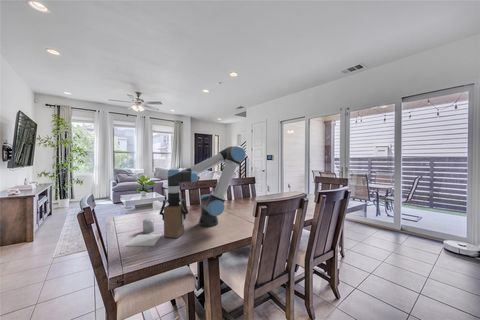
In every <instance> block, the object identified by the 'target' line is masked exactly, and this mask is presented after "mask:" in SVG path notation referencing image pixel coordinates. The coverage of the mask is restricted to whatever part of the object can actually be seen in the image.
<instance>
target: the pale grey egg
mask: <svg viewBox="0 0 480 320" xmlns="http://www.w3.org/2000/svg"><path fill="white" fill-rule="evenodd" d="M154 223H155V220H154V219H153V218H145V219H143V220H142V233H143V234H150V233H151V234H152V233H153V232H154V231H155V226H154V225H155V224H154Z"/></svg>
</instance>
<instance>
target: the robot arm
mask: <svg viewBox="0 0 480 320" xmlns="http://www.w3.org/2000/svg"><path fill="white" fill-rule="evenodd" d="M245 158H246V151H245V149H244V148H243V147H242V146H240V145H234V146H233V145H231V146H227V147H226V148H224V149H222V150H220V151H218V152H217V154H214V155H213V156H211V157H209V158H207V159H205V160H203V161H200V162H199V163H197V164H196V163H195V164H194V165H192V166H189V167H188V168H186V169H183V170H180V168H169V169H168V170H167V199H163V200H162V205H161V208H160V210H159V213H158V215H161V216H162V221H164V207H166V204H167V206H180V204H183V207H184V210H183V209H182V208H181V212H182V213H183V215H182V225H184V226H185V220H186V218H187V217H186V215H188V213H189V210H188V207H187V205H186V202H185V199H184V198H182V199H181V193H180V191H181V190H180V187H181V186H180V184H183V183H184V184H185V183H195V182H196V183H197V182H198V178H199V177H198V175H200V174H202V173H204V172H206V171H208V170H210V169H212V168H214V167H216V166H218V165H220V164H224V167H223V169H222V172H221V174H220V176H219V178H218V181H217V183H216V187H215V188H214V191H213V193H212V192H211V193H210V194H209V193H208V194H207V193H206V194H202V195H201V196H200V217H199V220H198V225H199V226H201V227H206V228H207V227H214V226H217V225H218V224H219V219H218V216H220V215H222V214H223V213H224V211H225V201H226V198H225V196H226V193H227V191H228V188H229V186H230V184H231V181H232V179H233V177H234V174H235V171H236V169H237V168H238V167H239V166H240V164H241V162H242V161H243V160H245Z"/></svg>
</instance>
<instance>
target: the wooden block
mask: <svg viewBox="0 0 480 320" xmlns="http://www.w3.org/2000/svg"><path fill="white" fill-rule="evenodd" d="M179 204H180V206H168V205H165V207H164V210H163V213H164V220H163V236H164V237H165V238H172V239H178V238H179V237H181V236H182V235H183V234H184V233H185V224H184V225H182V215H183V213H182V212H181V208H182V209H183V210H184V207H183V204H182V203H179ZM184 211H185V210H184Z"/></svg>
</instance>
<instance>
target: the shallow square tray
mask: <svg viewBox="0 0 480 320" xmlns="http://www.w3.org/2000/svg"><path fill="white" fill-rule="evenodd" d="M162 236H163V233H157V234H155V233H151V234H150V233H146V234H137V235H136V236H135V237H134V238H132V239H131V240H129V242H127V244H126V245H125V247H149V246H153V247H154V246H155V245H156V244H157V243H158V242H159V240H160V239H161V238H162Z"/></svg>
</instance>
